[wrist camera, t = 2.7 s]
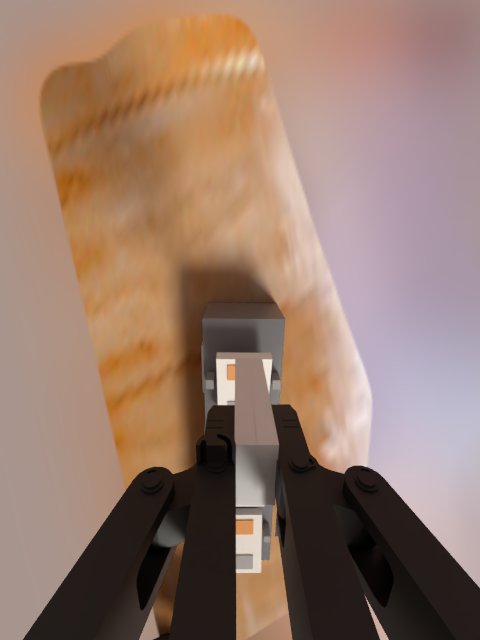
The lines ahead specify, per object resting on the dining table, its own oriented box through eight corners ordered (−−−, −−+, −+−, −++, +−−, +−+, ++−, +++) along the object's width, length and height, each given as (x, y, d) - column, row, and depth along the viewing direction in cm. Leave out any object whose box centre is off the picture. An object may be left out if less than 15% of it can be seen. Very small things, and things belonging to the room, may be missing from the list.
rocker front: (265, 405, 24) (267, 418, 23) (218, 405, 24) (218, 418, 23) (270, 348, 21) (272, 360, 20) (217, 348, 21) (216, 359, 20)
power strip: (264, 514, 34) (270, 574, 28) (210, 514, 34) (205, 574, 28) (276, 303, 26) (288, 324, 20) (205, 302, 26) (196, 323, 20)
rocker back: (259, 559, 28) (261, 573, 27) (219, 560, 28) (219, 574, 26) (260, 504, 27) (262, 515, 26) (220, 504, 27) (219, 516, 26)
